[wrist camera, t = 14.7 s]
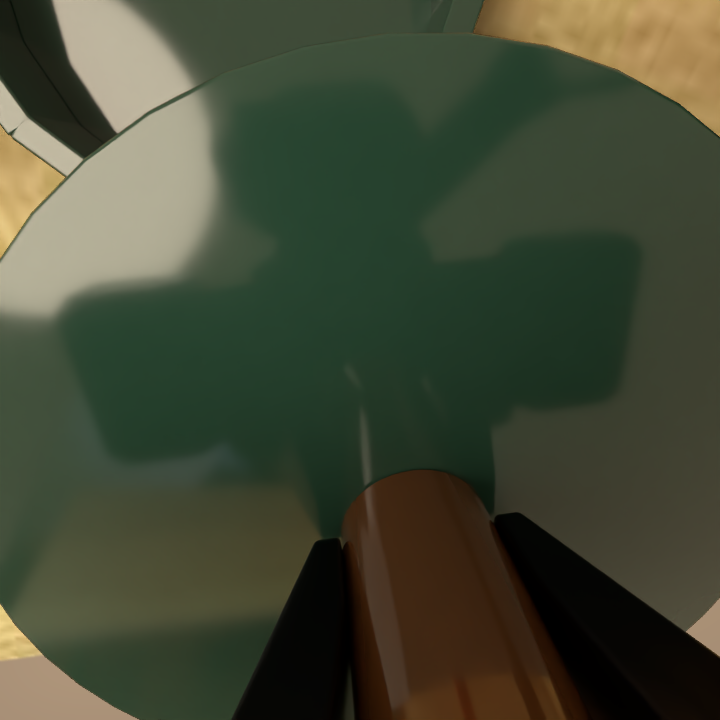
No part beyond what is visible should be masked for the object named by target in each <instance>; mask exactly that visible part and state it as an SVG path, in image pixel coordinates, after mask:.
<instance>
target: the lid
mask: <svg viewBox="0 0 720 720" xmlns="http://www.w3.org/2000/svg"><path fill="white" fill-rule="evenodd" d="M513 512H519V513H521V514H523V515H524V516H526V517H527V518H529V519H530V520H531V521H533V522H534V523H536V524H537V525H538V526H540V527H541V528H542V529H544V530H545V531H547V532H548V533H549V534H551V535H552V536H554V537H555V538H556V539H558V540H559V541H560V542H562V543H563V544H565V545H566V546H567V547H569V548H570V549H572V550H573V551H574V552H576V553H577V554H578V555H580V556H581V557H583V558H584V559H585V560H587V561H588V562H590V563H591V564H592V565H594V566H595V567H596V568H598V569H599V570H601V571H602V572H603V573H605V574H606V575H608V576H609V577H610V578H612V579H613V580H614V581H616V582H617V583H619V584H620V585H621V586H623V587H624V588H625V589H627V590H628V591H630V592H631V593H632V594H634V595H635V596H637V597H638V598H639V599H641V600H642V601H643V602H645V603H646V604H648V605H649V606H650V607H652V608H653V609H655V610H656V611H657V612H659V613H660V614H661V615H663V616H664V617H666V618H667V619H668V620H670V621H671V622H673V623H674V624H675V625H677V626H678V627H679V628H681V629H682V630H684V631H685V632H686V631H687V630H688V629H689V628H690V627H691V626H692V625H694V624H695V623H696V622H697V621H698V620H699V619H700V618H701V617H702V616H703V615H704V614H705V613H706V612H707V611H708V610H709V609H710V608H711V607H712V606H713V605H714V604H715V603H716V601H717V600H718V599H719V598H720V137H719V136H718V135H717V134H715V133H714V132H713V131H712V130H711V129H709V128H708V127H707V126H706V125H704V124H703V123H702V122H701V121H700V120H698V119H697V118H696V117H695V116H694V115H692V114H691V113H690V112H689V111H687V110H686V109H685V108H684V107H683V106H681V105H680V104H679V103H677V102H675V101H673V100H672V99H670V98H668V97H666V96H664V95H663V94H661V93H659V92H657V91H655V90H654V89H652V88H650V87H648V86H646V85H645V84H643V83H641V82H639V81H637V80H636V79H634V78H632V77H630V76H628V75H627V74H625V73H623V72H621V71H619V70H618V69H615V68H612V67H609V66H606V65H603V64H600V63H597V62H594V61H591V60H588V59H586V58H583V57H580V56H577V55H574V54H571V53H568V52H565V51H562V50H559V49H557V48H554V47H551V46H548V45H542V44H536V43H530V42H524V41H518V40H512V39H506V38H500V37H493V36H487V35H481V34H475V33H381V34H375V35H369V36H363V37H357V38H350V39H344V40H338V41H332V42H326V43H319V44H313V45H307V46H302V47H299V48H296V49H293V50H290V51H287V52H284V53H281V54H278V55H275V56H272V57H269V58H266V59H262V60H259V61H256V62H253V63H250V64H247V65H244V66H241V67H238V68H235V69H232V70H229V71H226V72H223V73H221V74H219V75H217V76H215V77H213V78H211V79H209V80H207V81H205V82H203V83H201V84H199V85H198V86H196V87H194V88H192V89H190V90H188V91H186V92H184V93H182V94H180V95H178V96H176V97H174V98H172V99H170V100H168V101H166V102H165V103H163V104H161V105H159V106H157V107H155V108H153V109H151V110H149V111H147V112H146V113H145V114H143V115H142V116H141V117H139V118H138V119H137V120H135V121H134V122H133V123H131V124H130V125H129V126H127V127H126V128H124V129H123V130H122V131H120V132H119V133H118V134H116V135H115V136H114V137H112V138H111V139H110V140H108V141H107V142H106V143H104V144H103V145H101V146H100V147H99V148H97V149H96V150H95V151H93V152H92V153H91V154H89V155H88V156H87V157H85V158H84V159H83V160H82V161H81V162H80V163H79V164H78V165H77V166H76V167H75V168H74V169H73V170H72V171H71V172H70V173H69V174H68V175H67V177H66V178H65V179H64V180H63V181H62V182H61V183H60V184H59V185H58V186H57V187H56V188H55V189H54V190H53V191H52V192H51V193H50V194H49V195H48V196H47V197H46V198H45V199H44V200H43V201H42V202H41V203H40V204H39V205H38V206H37V208H36V209H35V210H34V211H33V212H32V213H31V214H30V216H29V217H28V219H27V220H26V222H25V223H24V224H23V226H22V227H21V229H20V230H19V232H18V233H17V235H16V236H15V238H14V239H13V241H12V242H11V244H10V245H9V246H8V248H7V249H6V251H5V252H4V254H3V255H2V257H1V258H0V604H1V606H2V607H3V609H4V610H5V611H6V613H7V614H8V616H9V617H10V618H11V620H12V621H13V623H14V624H15V625H16V626H17V628H18V629H19V630H20V631H21V632H22V633H23V634H24V635H25V636H26V637H27V638H28V639H29V640H30V641H31V642H32V643H33V645H34V646H35V647H36V648H37V649H38V650H39V651H40V652H41V653H42V654H43V655H44V656H45V657H46V658H47V659H48V660H50V661H51V662H52V663H53V664H54V665H56V666H57V667H58V668H59V669H61V670H62V671H63V672H64V673H65V674H67V675H68V676H69V677H70V678H71V679H73V680H74V681H75V682H76V683H78V684H79V685H80V686H82V687H83V688H85V689H87V690H88V691H90V692H91V693H93V694H94V695H96V696H98V697H99V698H101V699H102V700H104V701H105V702H107V703H109V704H110V705H112V706H114V707H115V708H117V709H119V710H121V711H123V712H125V713H127V714H129V715H131V716H133V717H135V718H137V719H139V720H231V719H232V716H233V714H234V712H235V710H236V708H237V706H238V704H239V702H240V699H241V697H242V695H243V693H244V691H245V689H246V687H247V685H248V682H249V680H250V678H251V676H252V674H253V672H254V670H255V668H256V665H257V663H258V661H259V659H260V657H261V655H262V653H263V651H264V648H265V646H266V644H267V642H268V640H269V638H270V636H271V634H272V631H273V629H274V627H275V625H276V623H277V621H278V619H279V617H280V614H281V612H282V610H283V608H284V606H285V604H286V602H287V600H288V597H289V595H290V593H291V591H292V589H293V587H294V585H295V583H296V580H297V578H298V576H299V574H300V572H301V570H302V568H303V566H304V563H305V561H306V559H307V557H308V555H309V553H310V551H311V549H312V546H313V545H314V543H315V542H316V541H317V540H322V539H329V538H339V539H340V541H341V546H342V555H343V568H344V582H345V595H346V608H347V621H348V642H349V657H350V671H351V684H352V697H353V711H354V720H593V718H592V716H591V714H590V712H589V710H588V708H587V706H586V704H585V702H584V700H583V698H582V696H581V694H580V692H579V691H578V689H577V687H576V685H575V683H574V681H573V679H572V677H571V675H570V673H569V671H568V669H567V667H566V665H565V663H564V661H563V659H562V657H561V655H560V653H559V651H558V649H557V647H556V645H555V643H554V641H553V639H552V637H551V635H550V633H549V631H548V630H547V628H546V626H545V624H544V622H543V620H542V618H541V616H540V614H539V612H538V610H537V608H536V606H535V604H534V602H533V600H532V598H531V596H530V594H529V592H528V590H527V588H526V586H525V584H524V582H523V580H522V578H521V576H520V574H519V572H518V570H517V568H516V567H515V565H514V563H513V561H512V559H511V557H510V555H509V553H508V551H507V549H506V547H505V545H504V543H503V541H502V539H501V537H500V535H499V533H498V531H497V529H496V527H495V525H494V518H495V517H496V516H497V515H499V514H505V513H513Z"/></svg>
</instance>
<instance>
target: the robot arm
mask: <svg viewBox="0 0 720 720" xmlns="http://www.w3.org/2000/svg"><path fill="white" fill-rule="evenodd" d="M494 525H495V527H496V529H497V531H498V533H499V535H500V537H501V539H502V541H503V543H504V545H505V547H506V549H507V551H508V553H509V555H510V557H511V559H512V561H513V563H514V565H515V567H516V568H517V570H518V572H519V574H520V576H521V578H522V580H523V582H524V584H525V586H526V588H527V590H528V592H529V594H530V596H531V598H532V600H533V602H534V604H535V606H536V608H537V610H538V612H539V614H540V616H541V618H542V620H543V622H544V624H545V626H546V628H547V630H548V631H549V633H550V635H551V637H552V639H553V641H554V643H555V645H556V647H557V649H558V651H559V653H560V655H561V657H562V659H563V661H564V663H565V665H566V667H567V669H568V671H569V673H570V675H571V677H572V679H573V681H574V683H575V685H576V687H577V689H578V691H579V692H580V694H581V696H582V698H583V700H584V702H585V704H586V706H587V708H588V710H589V712H590V714H591V716H592V718H593V720H720V656H718V655H717V654H715V653H714V652H712V651H711V650H710V649H709V648H707V647H706V646H704V645H703V644H702V643H700V642H699V641H697V640H696V639H695V638H693V637H692V636H691V635H689V634H688V633H686V632H685V631H684V630H682V629H681V628H679V627H678V626H677V625H675V624H674V623H673V622H671V621H670V620H668V619H667V618H666V617H664V616H663V615H661V614H660V613H659V612H657V611H656V610H655V609H653V608H652V607H650V606H649V605H648V604H646V603H645V602H643V601H642V600H641V599H639V598H638V597H637V596H635V595H634V594H632V593H631V592H630V591H628V590H627V589H625V588H624V587H623V586H621V585H620V584H619V583H617V582H616V581H614V580H613V579H612V578H610V577H609V576H608V575H606V574H605V573H603V572H602V571H601V570H599V569H598V568H596V567H595V566H594V565H592V564H591V563H590V562H588V561H587V560H585V559H584V558H583V557H581V556H580V555H578V554H577V553H576V552H574V551H573V550H572V549H570V548H569V547H567V546H566V545H565V544H563V543H562V542H560V541H559V540H558V539H556V538H555V537H554V536H552V535H551V534H549V533H548V532H547V531H545V530H544V529H542V528H541V527H540V526H538V525H537V524H536V523H534V522H533V521H531V520H530V519H529V518H527V517H526V516H524V515H523V514H521V513H519V512H513V513H505V514H499V515H497V516H496V517H495V518H494ZM231 720H354V711H353V697H352V684H351V671H350V657H349V642H348V621H347V608H346V595H345V582H344V568H343V555H342V546H341V541H340V539H339V538H329V539H322V540H317V541H316V542H315V543H314V545H313V546H312V549H311V551H310V553H309V555H308V557H307V559H306V561H305V563H304V566H303V568H302V570H301V572H300V574H299V576H298V578H297V580H296V583H295V585H294V587H293V589H292V591H291V593H290V595H289V597H288V600H287V602H286V604H285V606H284V608H283V610H282V612H281V614H280V617H279V619H278V621H277V623H276V625H275V627H274V629H273V631H272V634H271V636H270V638H269V640H268V642H267V644H266V646H265V648H264V651H263V653H262V655H261V657H260V659H259V661H258V663H257V665H256V668H255V670H254V672H253V674H252V676H251V678H250V680H249V682H248V685H247V687H246V689H245V691H244V693H243V695H242V697H241V699H240V702H239V704H238V706H237V708H236V710H235V712H234V714H233V716H232V719H231Z"/></svg>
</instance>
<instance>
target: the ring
mask: <svg viewBox="0 0 720 720" xmlns="http://www.w3.org/2000/svg"><path fill="white" fill-rule="evenodd" d="M484 1H485V0H0V125H1V126H2V128H3V129H4V130H5V132H6V133H7V134H8V135H10V136H11V137H12V138H13V139H14V140H15V141H16V142H18V143H19V144H20V145H22V146H23V147H24V148H26V149H27V150H29V151H30V152H31V153H33V154H34V155H35V156H37V157H38V158H40V159H41V160H42V161H44V162H45V163H46V164H48V165H49V166H51V167H52V168H53V169H55V170H56V171H58V172H59V173H60V174H62V175H63V176H64V177H67V175H68V174H69V173H70V172H71V171H72V170H73V169H74V168H75V167H76V166H77V165H78V164H79V163H80V162H81V161H82V160H83V159H84V158H85V157H87V156H88V155H89V154H91V153H92V152H93V151H95V150H96V149H97V148H99V147H100V146H101V145H103V144H104V143H106V142H107V141H108V140H110V139H111V138H112V137H114V136H115V135H116V134H118V133H119V132H120V131H122V130H123V129H124V128H126V127H127V126H129V125H130V124H131V123H133V122H134V121H135V120H137V119H138V118H139V117H141V116H142V115H143V114H145V113H146V112H147V111H149V110H151V109H153V108H155V107H157V106H159V105H161V104H163V103H165V102H166V101H168V100H170V99H172V98H174V97H176V96H178V95H180V94H182V93H184V92H186V91H188V90H190V89H192V88H194V87H196V86H198V85H199V84H201V83H203V82H205V81H207V80H209V79H211V78H213V77H215V76H217V75H219V74H221V73H223V72H226V71H229V70H232V69H235V68H238V67H241V66H244V65H247V64H250V63H253V62H256V61H259V60H262V59H266V58H269V57H272V56H275V55H278V54H281V53H284V52H287V51H290V50H293V49H296V48H299V47H302V46H307V45H313V44H319V43H326V42H332V41H338V40H344V39H350V38H357V37H363V36H369V35H375V34H381V33H473V32H474V29H475V26H476V23H477V21H478V18H479V15H480V12H481V9H482V6H483V3H484Z"/></svg>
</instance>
